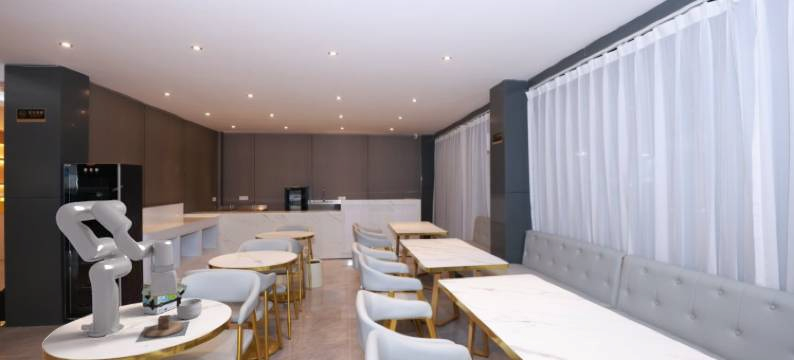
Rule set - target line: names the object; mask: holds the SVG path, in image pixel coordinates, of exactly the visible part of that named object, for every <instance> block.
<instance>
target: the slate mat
mask: <svg viewBox="0 0 794 360" xmlns="http://www.w3.org/2000/svg"><path fill="white" fill-rule="evenodd" d="M179 322H180V323H183V324H184V329H183V330H182V331H180V332H179V333H176V334H174V335H171V336H166V337H160V338H148V337H145V336H144V331H145V330H146V329H147V328H149V327H151V326H152V325H148V326H144V328H143V329H142V331H141V333H140V334H139V336H138V337H137V339H136V340H135V343H140V342H142V343H143V342H148V341H154V340H162V339H168V338H169V339H170V338H176V337H177V338H178V337H185V336H186V333H187V332H188V331H187V330H188V327H189V324H190V323H191V322H190V321H189V320H188V321H187V320H186V321H179Z"/></svg>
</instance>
